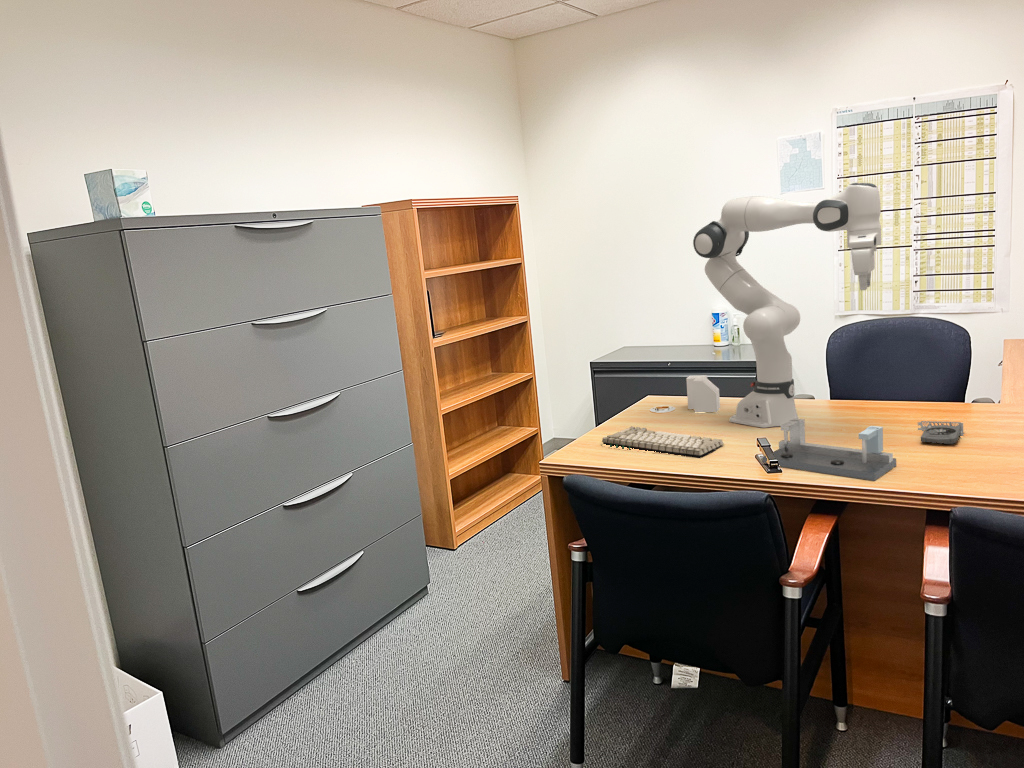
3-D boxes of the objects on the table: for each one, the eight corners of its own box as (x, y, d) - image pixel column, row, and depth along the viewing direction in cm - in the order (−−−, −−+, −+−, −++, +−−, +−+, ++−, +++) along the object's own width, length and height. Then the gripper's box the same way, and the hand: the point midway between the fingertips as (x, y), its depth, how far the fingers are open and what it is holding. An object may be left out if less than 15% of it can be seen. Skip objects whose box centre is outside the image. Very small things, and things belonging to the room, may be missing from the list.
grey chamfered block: (690, 406, 285) (688, 375, 283) (721, 406, 280) (719, 375, 278) (685, 413, 275) (683, 381, 273) (717, 413, 271) (715, 380, 269)
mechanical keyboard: (730, 445, 231) (729, 434, 231) (699, 462, 218) (699, 451, 217) (628, 434, 257) (628, 424, 256) (595, 449, 244) (595, 439, 243)
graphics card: (918, 420, 224) (964, 421, 217) (918, 432, 225) (965, 433, 218) (908, 434, 211) (957, 436, 204) (909, 447, 212) (958, 449, 204)
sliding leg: (857, 462, 191) (857, 433, 190) (871, 454, 197) (870, 425, 196) (869, 464, 189) (869, 434, 188) (883, 455, 195) (882, 426, 194)
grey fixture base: (762, 464, 208) (761, 426, 206) (787, 451, 217) (785, 415, 215) (874, 480, 186) (873, 439, 184) (896, 465, 195) (895, 426, 193)
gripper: (856, 239, 224) (857, 286, 227) (847, 242, 207) (849, 292, 209) (879, 237, 221) (880, 284, 223) (873, 240, 204) (874, 291, 206)
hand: (865, 288), depth 216 cm, fingers open, 8 cm apart
